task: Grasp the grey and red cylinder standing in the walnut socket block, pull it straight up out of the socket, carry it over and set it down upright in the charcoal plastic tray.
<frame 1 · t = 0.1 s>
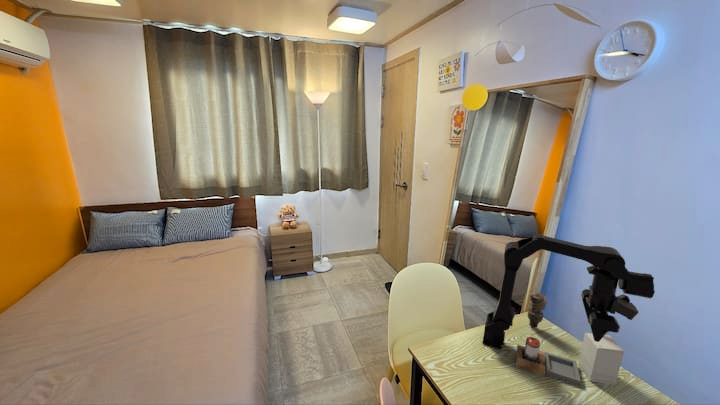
hand: (593, 332, 92), 15 cm above the table, fingers open, 9 cm apart
grey and red cylinder: (531, 352, 97), in the socket block
supplement box: (596, 374, 94), on the table
tray: (560, 370, 96), on the table
socket block: (529, 363, 99), on the table
light bulb: (533, 328, 116), on the table
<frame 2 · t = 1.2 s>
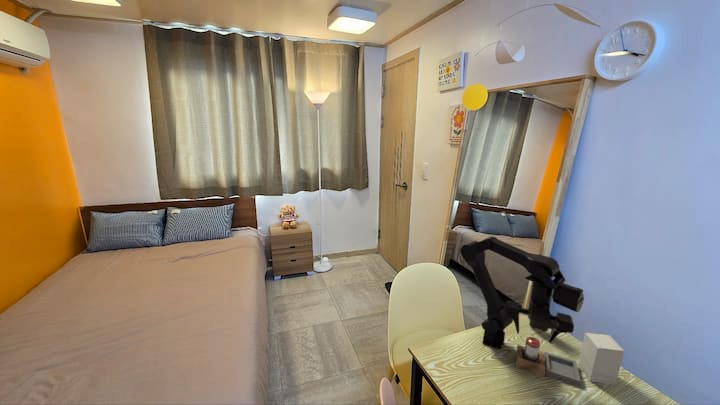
hand: (533, 337, 96), 10 cm above the table, fingers open, 9 cm apart
nothing on the table moved.
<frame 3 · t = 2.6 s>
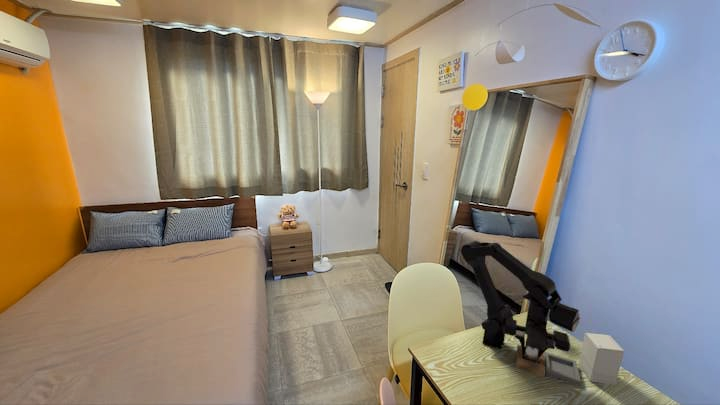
hand: (530, 354, 98), 4 cm above the table, fingers closed on grey and red cylinder, 4 cm apart
grey and red cylinder: (531, 352, 97), in the socket block, touching gripper
everything else where it was.
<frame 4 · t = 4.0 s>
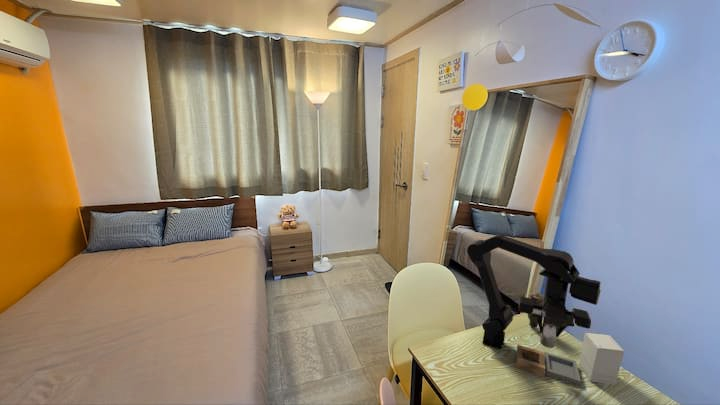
hand: (548, 334, 94), 13 cm above the table, fingers closed on grey and red cylinder, 4 cm apart
grey and red cylinder: (549, 331, 94), point 14 cm above the table, touching gripper
everything else where it was.
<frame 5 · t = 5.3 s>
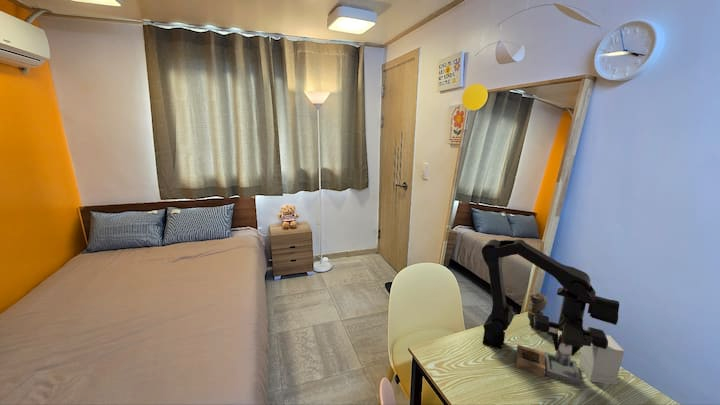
hand: (563, 352, 94), 7 cm above the table, fingers closed on grey and red cylinder, 4 cm apart
grey and red cylinder: (564, 349, 94), point 8 cm above the table, touching gripper
everything else where it was.
when the fingers open (5 cm above the table, at t = 5.9 s): grey and red cylinder drops 1 cm, resting on tray.
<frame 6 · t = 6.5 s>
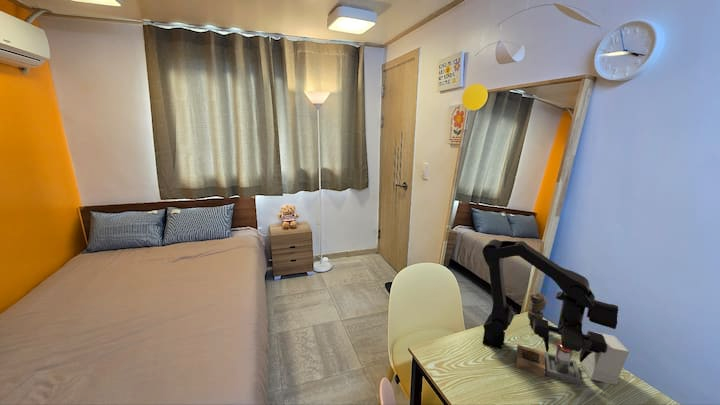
hand: (563, 356, 94), 6 cm above the table, fingers open, 9 cm apart
grey and red cylinder: (562, 357, 94), in the tray
supplement box: (596, 373, 94), on the table, touching gripper
everything else where it was.
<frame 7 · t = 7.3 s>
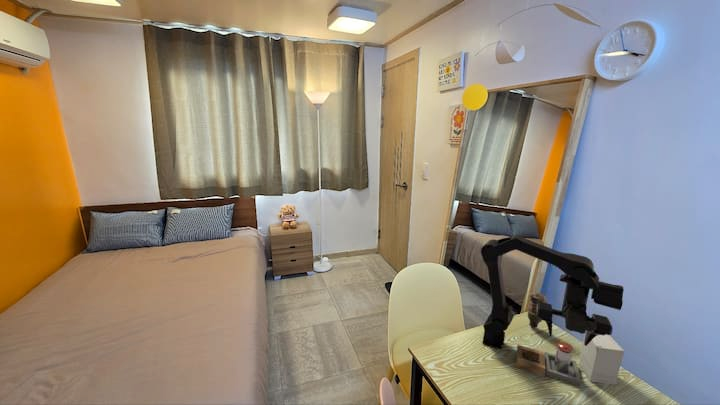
hand: (567, 340, 93), 12 cm above the table, fingers open, 9 cm apart
supplement box: (596, 374, 94), on the table
everything else where it was.
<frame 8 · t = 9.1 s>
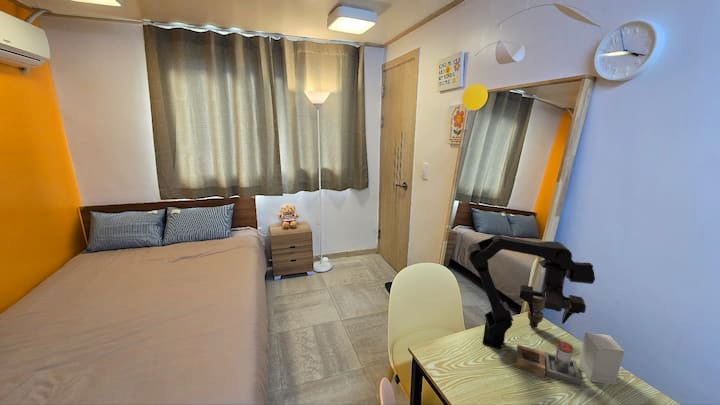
hand: (546, 319, 102), 13 cm above the table, fingers open, 9 cm apart
nothing on the table moved.
at the end: grey and red cylinder 0.1 cm off-centre on the tray, point 5.0 cm above the tray's base; grey and red cylinder tilted 1°; the gripper is holding nothing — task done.
